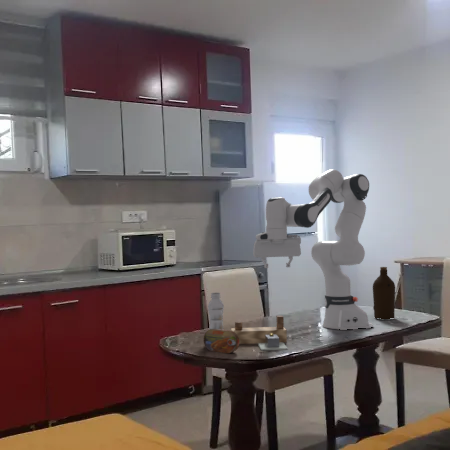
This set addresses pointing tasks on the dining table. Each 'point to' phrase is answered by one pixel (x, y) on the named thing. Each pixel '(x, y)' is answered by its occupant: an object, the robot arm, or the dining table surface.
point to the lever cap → (272, 340)
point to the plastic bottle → (216, 312)
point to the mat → (264, 347)
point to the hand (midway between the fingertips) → (277, 267)
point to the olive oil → (384, 296)
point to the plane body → (260, 332)
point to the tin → (221, 340)
